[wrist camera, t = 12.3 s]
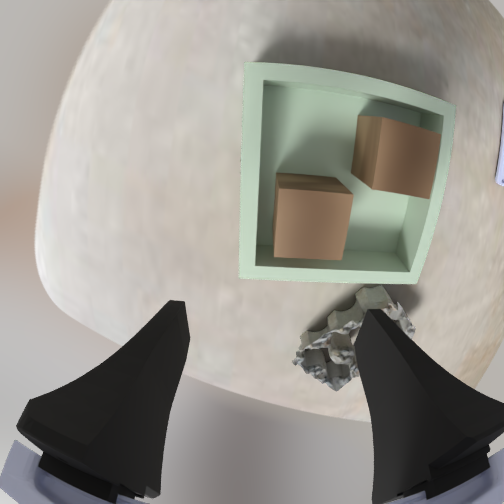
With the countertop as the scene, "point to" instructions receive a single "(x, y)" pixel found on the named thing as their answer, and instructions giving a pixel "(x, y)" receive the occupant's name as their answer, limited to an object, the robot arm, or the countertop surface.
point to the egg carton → (345, 338)
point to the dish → (333, 171)
